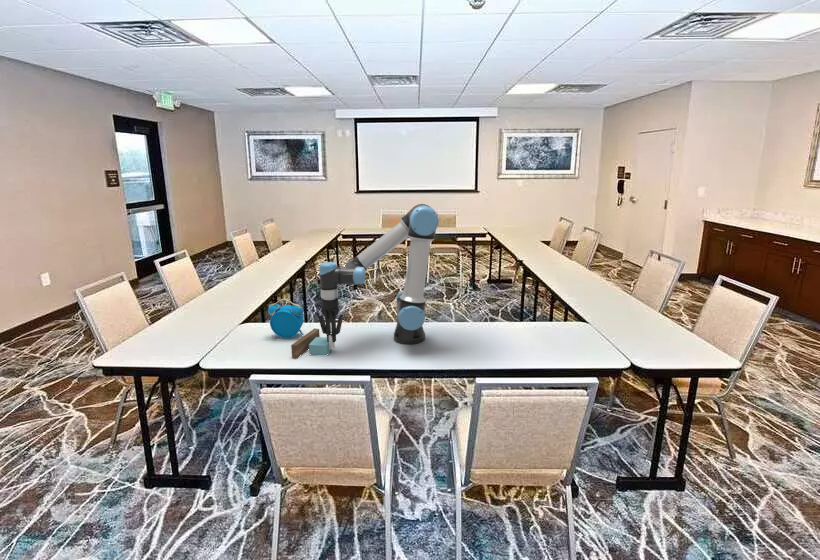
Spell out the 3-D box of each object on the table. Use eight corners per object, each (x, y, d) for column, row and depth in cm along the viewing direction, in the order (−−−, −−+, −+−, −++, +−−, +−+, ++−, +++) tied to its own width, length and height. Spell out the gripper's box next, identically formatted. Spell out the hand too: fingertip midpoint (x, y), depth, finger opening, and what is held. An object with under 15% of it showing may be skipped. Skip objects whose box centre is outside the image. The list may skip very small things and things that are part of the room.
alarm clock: (308, 333, 234) (305, 295, 230) (301, 341, 224) (299, 301, 220) (275, 333, 236) (272, 294, 231) (267, 340, 226) (264, 300, 221)
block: (333, 347, 217) (333, 337, 215) (326, 356, 207) (326, 345, 206) (316, 347, 218) (316, 337, 217) (309, 355, 208) (308, 344, 207)
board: (319, 340, 225) (319, 328, 223) (297, 358, 204) (296, 345, 203) (315, 340, 226) (314, 328, 224) (292, 358, 205) (291, 345, 204)
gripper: (346, 296, 207) (348, 346, 213) (319, 294, 211) (322, 344, 216) (339, 301, 200) (342, 353, 206) (312, 299, 204) (315, 350, 209)
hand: (332, 348), depth 211 cm, fingers closed
